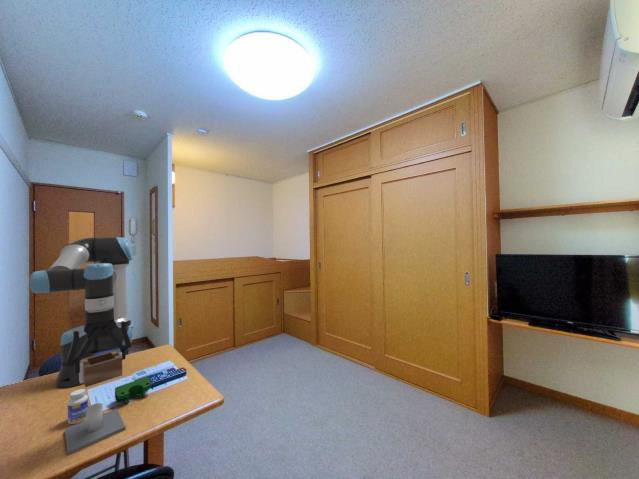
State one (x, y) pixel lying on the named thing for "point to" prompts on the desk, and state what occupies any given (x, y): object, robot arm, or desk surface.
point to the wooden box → (101, 367)
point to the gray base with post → (93, 428)
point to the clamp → (132, 389)
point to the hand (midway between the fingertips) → (101, 375)
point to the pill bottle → (77, 406)
